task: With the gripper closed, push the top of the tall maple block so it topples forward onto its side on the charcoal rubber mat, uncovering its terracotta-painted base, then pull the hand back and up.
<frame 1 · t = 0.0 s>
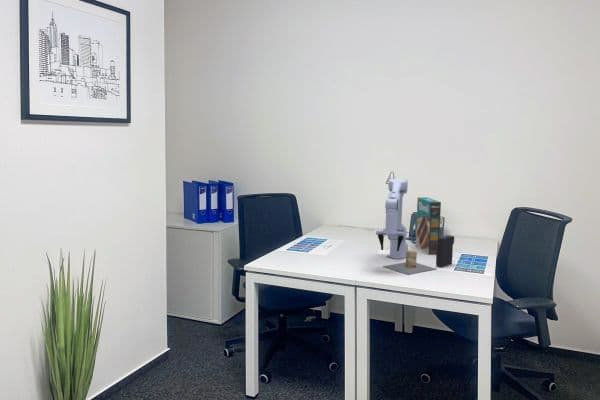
hand: (390, 250, 256), 11 cm above the table, tool pointing down, fingers open, 7 cm apart
mat: (409, 268, 265), on the table
maple block: (410, 266, 266), resting on mat
small drawer cabinet: (444, 265, 271), on the table
cake mix box: (426, 250, 305), on the table
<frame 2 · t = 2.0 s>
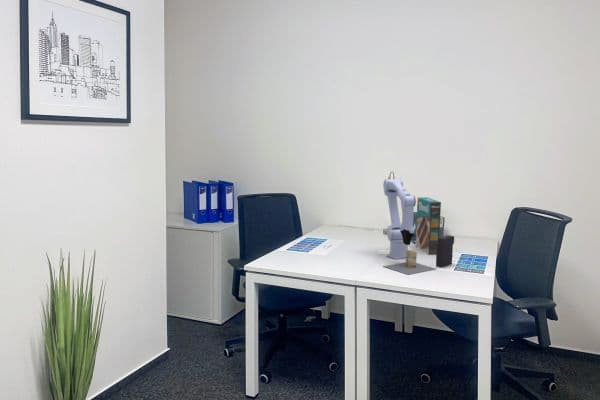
hand: (406, 244, 272), 10 cm above the table, tool pointing down, fingers closed
nothing on the table moved.
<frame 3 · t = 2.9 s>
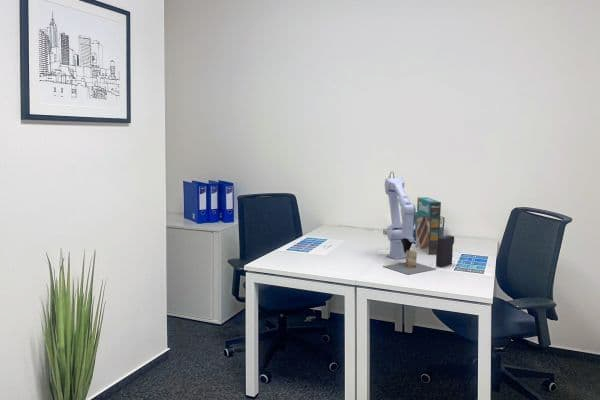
hand: (406, 252, 272), 6 cm above the table, tool pointing down, fingers closed
nothing on the table moved.
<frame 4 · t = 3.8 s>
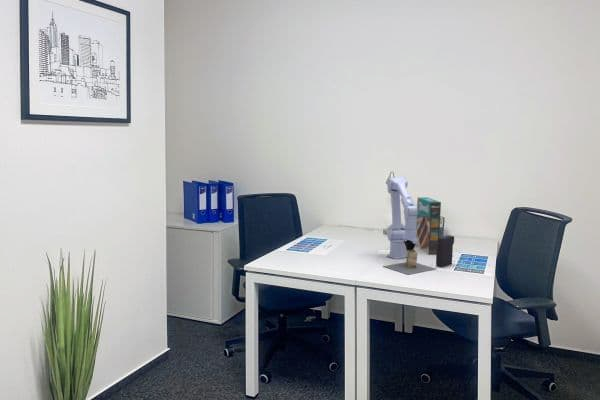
hand: (409, 254, 268), 6 cm above the table, tool pointing down, fingers closed
maple block: (410, 265, 266), point 1 cm above the table, tilted 9°, touching mat
everything else where it was.
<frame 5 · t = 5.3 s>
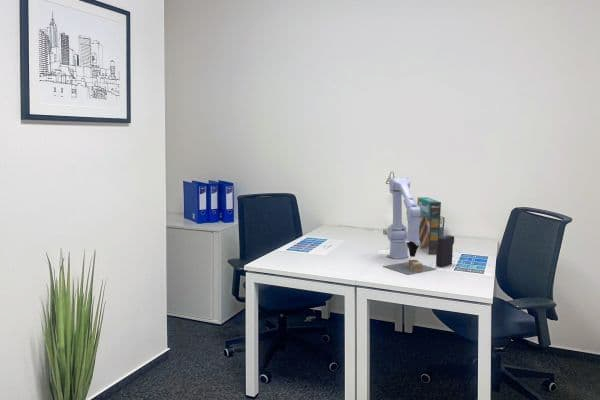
hand: (412, 256, 264), 6 cm above the table, tool pointing down, fingers closed
maple block: (412, 263, 264), point 2 cm above the table, tilted 90°, touching mat
everything else where it was.
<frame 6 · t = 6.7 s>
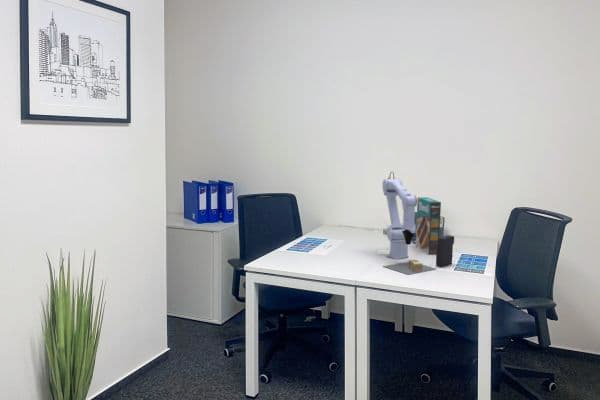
hand: (408, 244, 272), 10 cm above the table, tool pointing down, fingers closed
nothing on the table moved.
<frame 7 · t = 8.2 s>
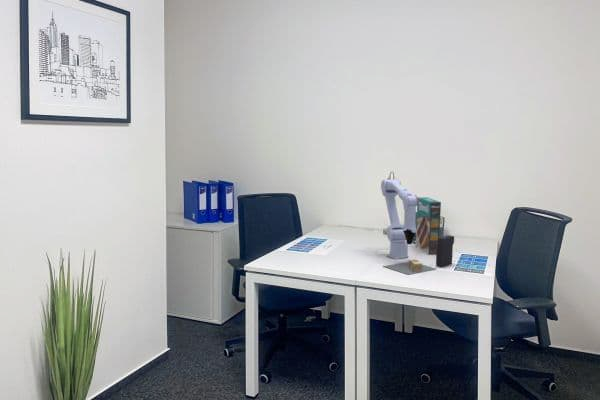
hand: (409, 244, 272), 10 cm above the table, tool pointing down, fingers closed
nothing on the table moved.
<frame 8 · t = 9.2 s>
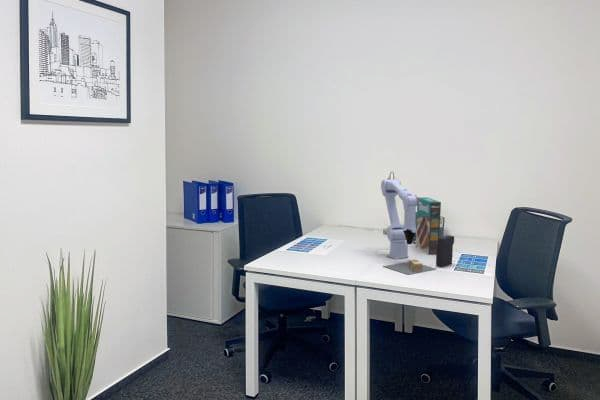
hand: (409, 244, 272), 10 cm above the table, tool pointing down, fingers closed
nothing on the table moved.
at the end: maple block tilted 90°; maple block inside the target area on the mat (1.4 cm from its centre), point 2.3 cm above the mat's base; maple block touching mat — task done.
